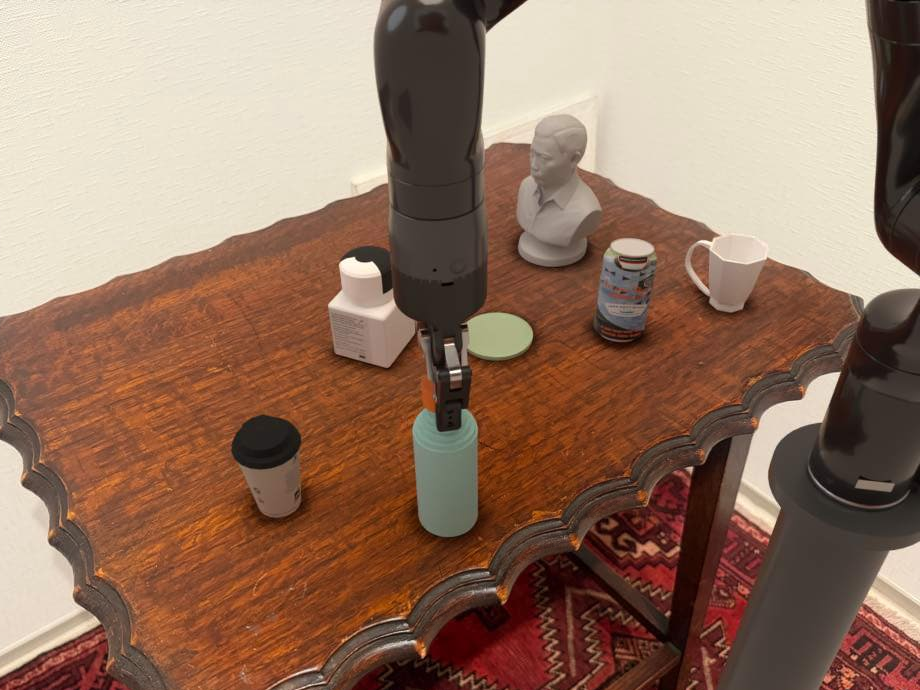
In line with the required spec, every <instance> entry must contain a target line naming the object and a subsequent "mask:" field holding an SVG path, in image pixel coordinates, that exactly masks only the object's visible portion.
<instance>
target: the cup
mask: <svg viewBox="0 0 920 690" xmlns="http://www.w3.org/2000/svg"><path fill="white" fill-rule="evenodd" d="M698 246H702V247H704V248H706V249H708V250H709V251H708V252H709V253H708V254H709V256H708V287H707V286H706V285H705V284H704V282H703V281H702V280H701V279H700V277H699V276H698V275H697V273H696V272H695V270H694V268H693V267H692V261H691V258H692V254H693V252H694V250H695V248H696V247H698ZM770 248H771V247H770V246H769V245H768V244H766V243H765V242H764V241H762V239H761V240H760V238H758V237H757V236H756V235H755V236H754V235H749V234H742V233H736V232H730V233H727V234H723V235H720V236H719V235H718V236H715V237H713V238H712V241H709V240H705V239H701V240H698V241H696V242H695V243H694V244H692V245H691V246H690V247H689V249H688V251H687V252H686V256H685V259H684V265H685V270H686V272H687V275H688V276H689V278H690V279H691V280H692V281H693V283H694V284H695V285H696V286H697V288H698V289H699V290H700V291H701V292H702V293H703V294H704V295H706V296H707V297H709V301H708V304H710V306H711V307H713V308H714V309H715V310H716V311H720V312H725V313H735V312H739V311H741V310H743V309H744V306H745V303H746V301H747V300H748V298H749V297H750V295H751V293H752V292H753V290H754V288H755V286H756V283H757V281H758V279H759V277H760V275H761V272H762V270H763V268H764V266H765V263H766V262H767V259H768V255H769V251H770Z"/></svg>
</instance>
